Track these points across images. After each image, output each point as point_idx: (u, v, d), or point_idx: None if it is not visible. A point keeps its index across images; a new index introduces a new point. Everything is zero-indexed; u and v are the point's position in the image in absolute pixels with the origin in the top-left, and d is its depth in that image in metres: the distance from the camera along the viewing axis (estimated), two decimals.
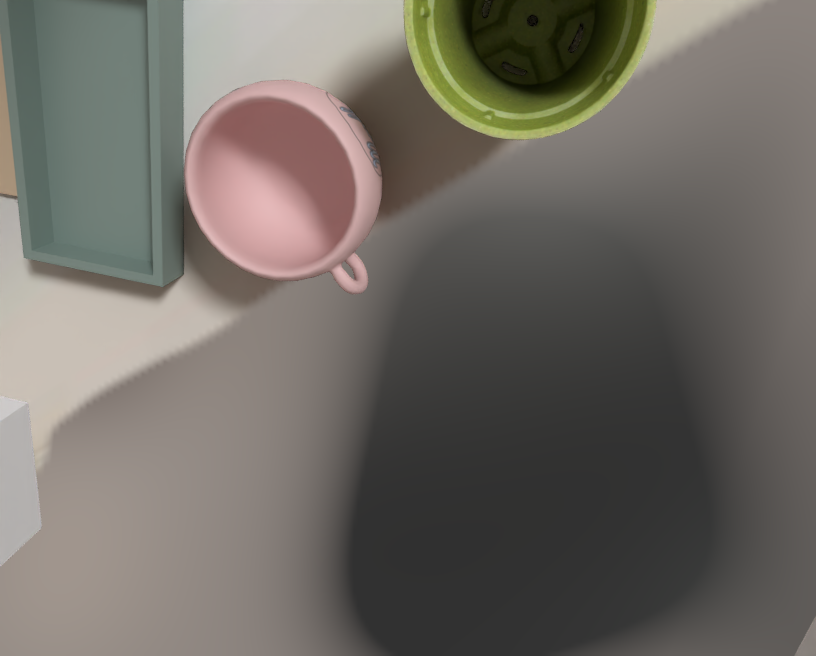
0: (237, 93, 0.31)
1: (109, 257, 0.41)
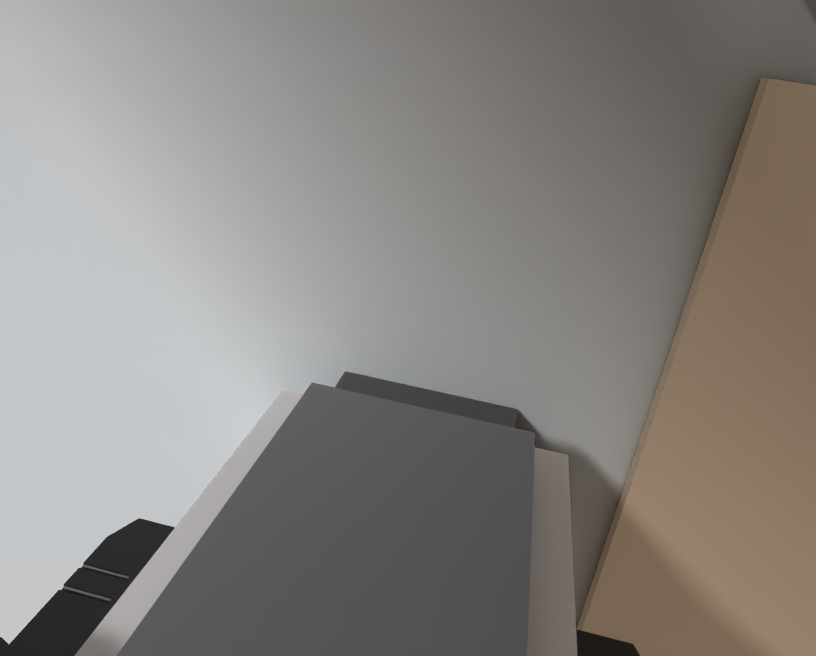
0: None
1: None
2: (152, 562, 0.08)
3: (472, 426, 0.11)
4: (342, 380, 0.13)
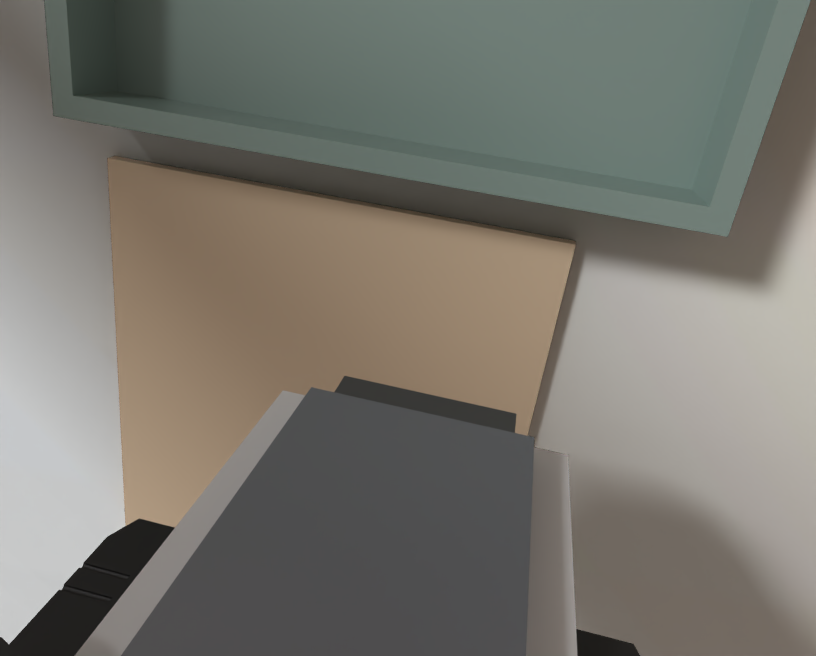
0: None
1: (757, 5, 0.15)
2: (152, 562, 0.08)
3: (471, 431, 0.11)
4: (342, 384, 0.13)
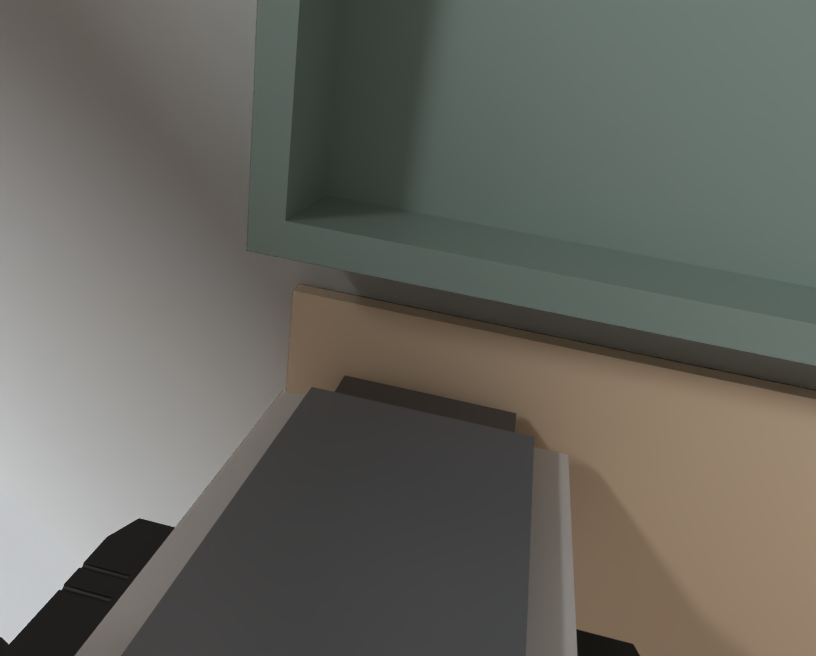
0: None
1: None
2: (152, 562, 0.08)
3: (471, 430, 0.11)
4: (342, 384, 0.13)
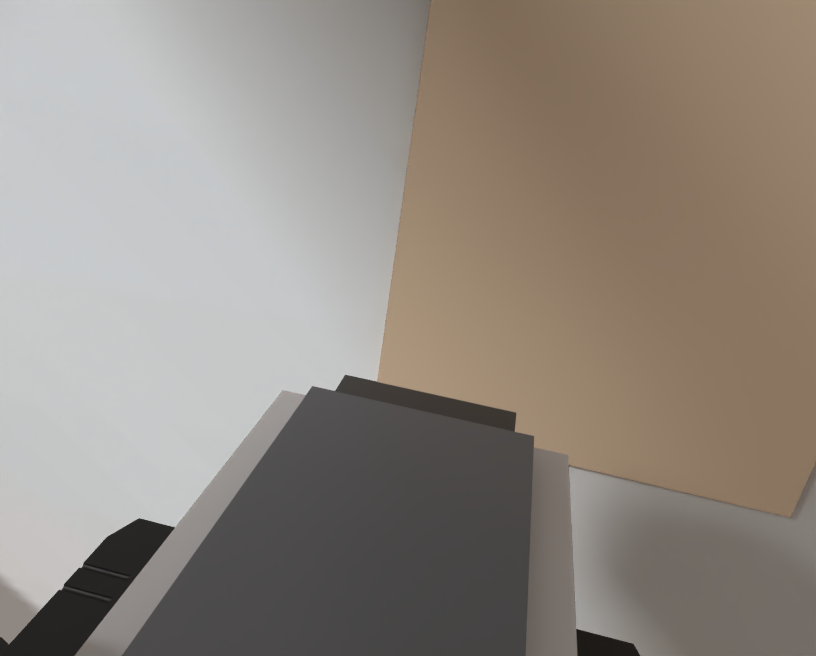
0: None
1: None
2: (152, 562, 0.08)
3: (471, 429, 0.11)
4: (342, 383, 0.13)
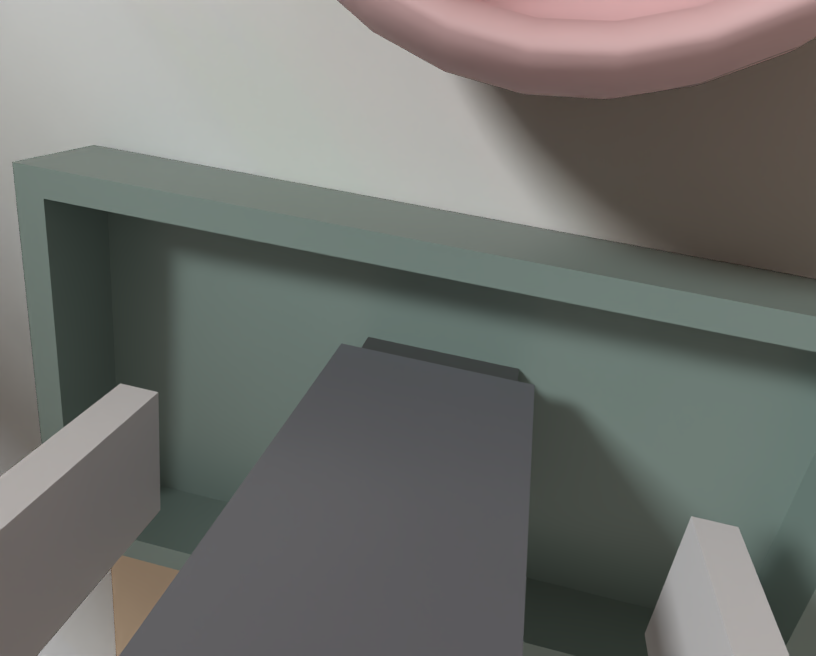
0: None
1: (810, 503, 0.14)
2: None
3: (480, 379, 0.13)
4: (366, 343, 0.14)
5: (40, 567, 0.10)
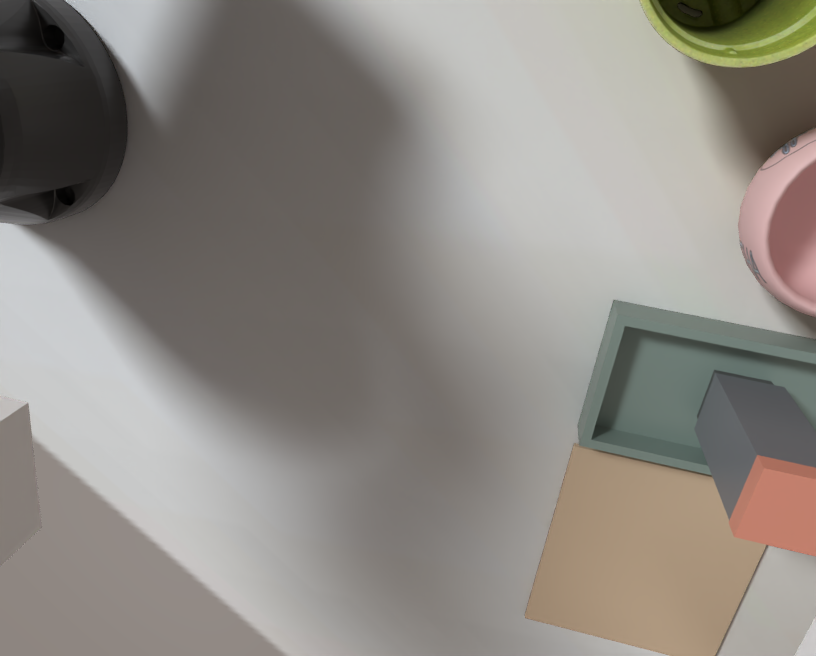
0: (759, 252, 0.33)
1: None
2: None
3: (767, 385, 0.39)
4: (716, 372, 0.41)
5: None
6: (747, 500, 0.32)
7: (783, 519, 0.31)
